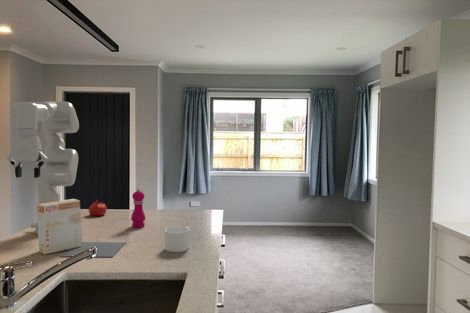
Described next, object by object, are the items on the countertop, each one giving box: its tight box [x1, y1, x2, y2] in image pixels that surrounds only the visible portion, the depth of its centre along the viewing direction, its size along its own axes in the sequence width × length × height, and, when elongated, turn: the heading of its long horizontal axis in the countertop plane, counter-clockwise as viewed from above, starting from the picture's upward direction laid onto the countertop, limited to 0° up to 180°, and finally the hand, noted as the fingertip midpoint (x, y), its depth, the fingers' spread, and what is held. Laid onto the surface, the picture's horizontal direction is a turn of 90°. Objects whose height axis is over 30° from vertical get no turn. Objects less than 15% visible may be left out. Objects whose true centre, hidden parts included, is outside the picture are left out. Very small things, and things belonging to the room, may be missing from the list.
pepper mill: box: [130, 187, 146, 229], centre depth 192 cm, size 7×7×20 cm
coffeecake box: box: [36, 198, 83, 255], centre depth 151 cm, size 15×7×20 cm, turn 134°
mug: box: [164, 226, 191, 253], centre depth 156 cm, size 13×10×8 cm
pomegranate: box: [88, 199, 108, 217], centre depth 217 cm, size 10×10×9 cm
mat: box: [59, 241, 127, 258], centre depth 152 cm, size 20×19×1 cm
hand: (27, 177), depth 150 cm, fingers open, 6 cm apart
